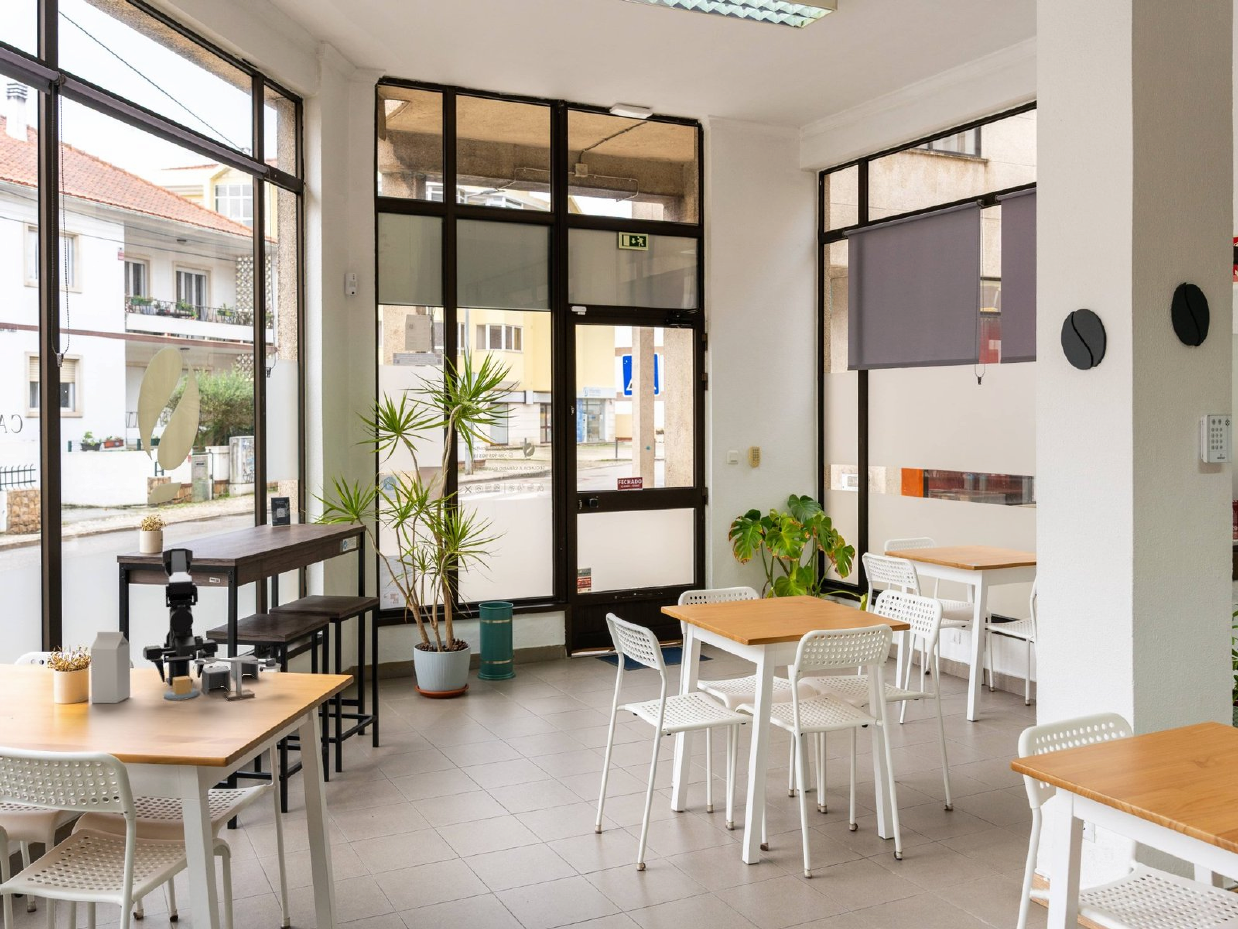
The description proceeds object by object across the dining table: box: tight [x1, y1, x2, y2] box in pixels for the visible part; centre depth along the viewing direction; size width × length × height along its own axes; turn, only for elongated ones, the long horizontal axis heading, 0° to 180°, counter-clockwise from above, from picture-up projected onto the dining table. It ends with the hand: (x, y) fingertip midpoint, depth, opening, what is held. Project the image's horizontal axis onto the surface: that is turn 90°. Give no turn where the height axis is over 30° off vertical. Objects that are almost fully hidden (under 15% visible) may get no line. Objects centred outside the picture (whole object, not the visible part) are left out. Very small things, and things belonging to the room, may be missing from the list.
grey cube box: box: [201, 665, 232, 695], centre depth 288 cm, size 6×6×6 cm
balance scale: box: [193, 656, 282, 702], centre depth 281 cm, size 6×23×12 cm, turn 125°
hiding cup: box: [230, 654, 259, 681], centre depth 302 cm, size 6×6×6 cm
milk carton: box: [90, 631, 131, 704], centre depth 276 cm, size 7×7×19 cm
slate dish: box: [163, 687, 200, 701], centre depth 281 cm, size 9×9×1 cm
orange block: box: [172, 676, 192, 695], centre depth 281 cm, size 4×4×4 cm
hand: (181, 680), depth 281 cm, fingers open, 9 cm apart
